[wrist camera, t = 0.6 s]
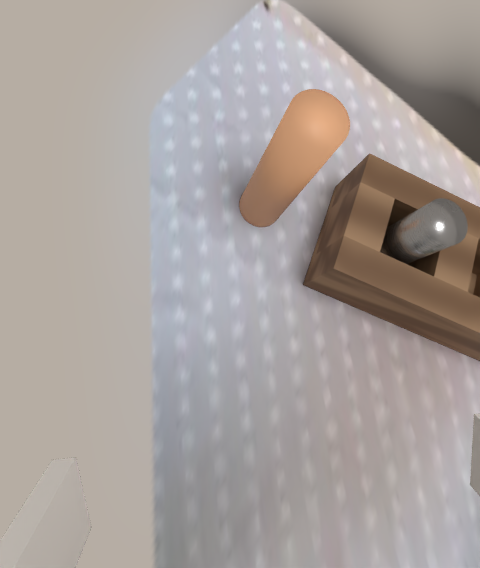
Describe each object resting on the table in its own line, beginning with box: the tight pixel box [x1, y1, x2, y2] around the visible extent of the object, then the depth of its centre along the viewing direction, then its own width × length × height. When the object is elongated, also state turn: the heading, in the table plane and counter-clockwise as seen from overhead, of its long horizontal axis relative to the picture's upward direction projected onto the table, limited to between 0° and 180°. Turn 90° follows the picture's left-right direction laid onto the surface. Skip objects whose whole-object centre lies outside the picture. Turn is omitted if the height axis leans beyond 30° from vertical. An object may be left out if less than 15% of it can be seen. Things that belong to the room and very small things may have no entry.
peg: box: [239, 89, 350, 227], centre depth 33 cm, size 4×4×15 cm
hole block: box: [303, 154, 480, 361], centre depth 39 cm, size 12×22×7 cm, turn 70°
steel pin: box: [380, 198, 468, 264], centre depth 36 cm, size 4×4×10 cm
